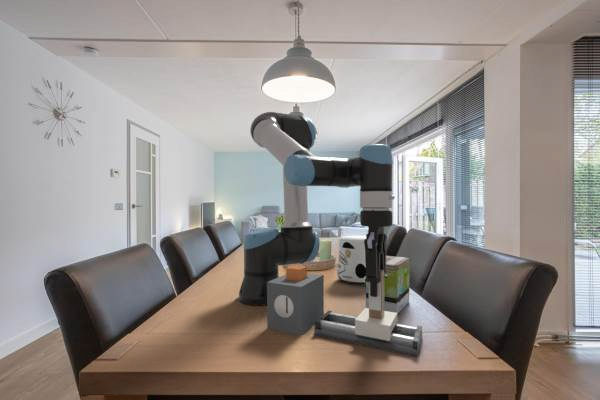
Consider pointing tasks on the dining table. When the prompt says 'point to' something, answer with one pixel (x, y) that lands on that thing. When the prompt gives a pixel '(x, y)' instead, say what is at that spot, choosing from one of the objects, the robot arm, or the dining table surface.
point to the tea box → (395, 284)
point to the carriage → (376, 320)
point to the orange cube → (296, 273)
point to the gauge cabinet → (295, 303)
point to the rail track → (344, 330)
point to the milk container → (352, 259)
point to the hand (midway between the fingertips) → (376, 306)
